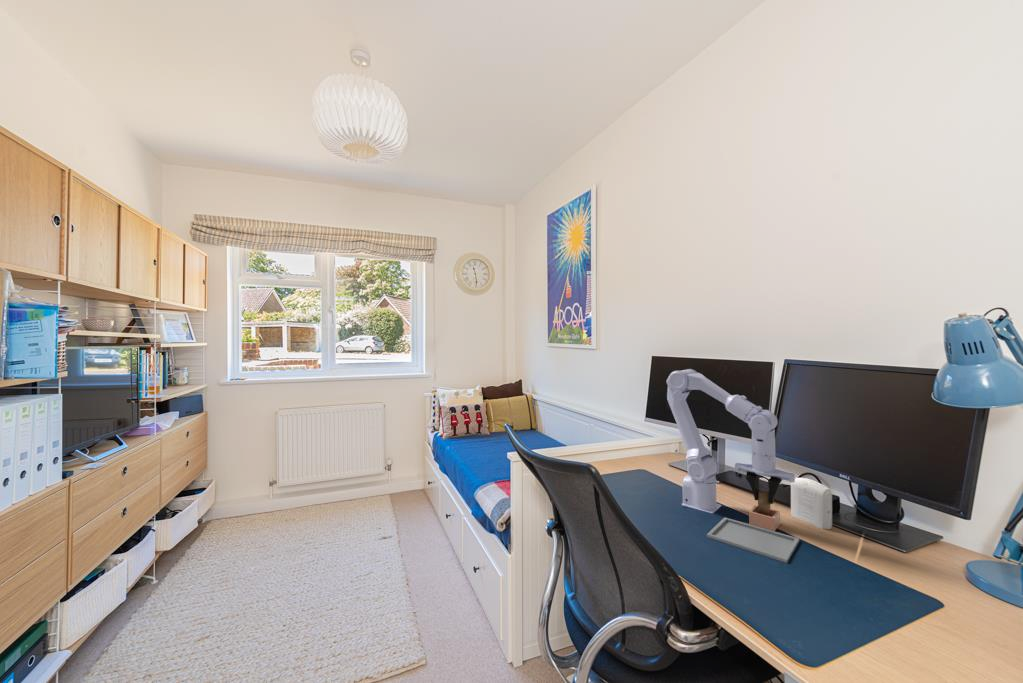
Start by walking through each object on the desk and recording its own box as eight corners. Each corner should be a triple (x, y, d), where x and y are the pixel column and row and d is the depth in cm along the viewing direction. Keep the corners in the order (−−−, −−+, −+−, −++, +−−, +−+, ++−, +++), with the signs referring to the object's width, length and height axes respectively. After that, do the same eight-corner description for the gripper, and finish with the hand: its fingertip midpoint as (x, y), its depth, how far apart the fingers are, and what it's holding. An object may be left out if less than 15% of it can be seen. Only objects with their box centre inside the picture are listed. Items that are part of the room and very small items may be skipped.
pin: (756, 515, 113) (756, 491, 113) (759, 512, 115) (759, 488, 115) (769, 518, 111) (768, 493, 111) (771, 515, 113) (771, 490, 113)
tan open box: (749, 525, 113) (749, 511, 113) (755, 518, 117) (755, 505, 117) (774, 532, 109) (774, 518, 109) (780, 525, 113) (779, 511, 113)
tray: (706, 538, 106) (706, 534, 106) (724, 521, 116) (724, 517, 116) (786, 565, 93) (786, 559, 93) (799, 543, 103) (799, 538, 103)
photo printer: (835, 529, 110) (834, 485, 110) (824, 532, 109) (823, 487, 109) (798, 514, 120) (798, 473, 120) (788, 516, 119) (787, 475, 119)
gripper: (731, 451, 115) (731, 498, 116) (790, 462, 105) (791, 513, 105) (738, 446, 120) (739, 491, 120) (796, 456, 110) (797, 505, 110)
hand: (764, 501), depth 113 cm, fingers closed on pin, 3 cm apart
